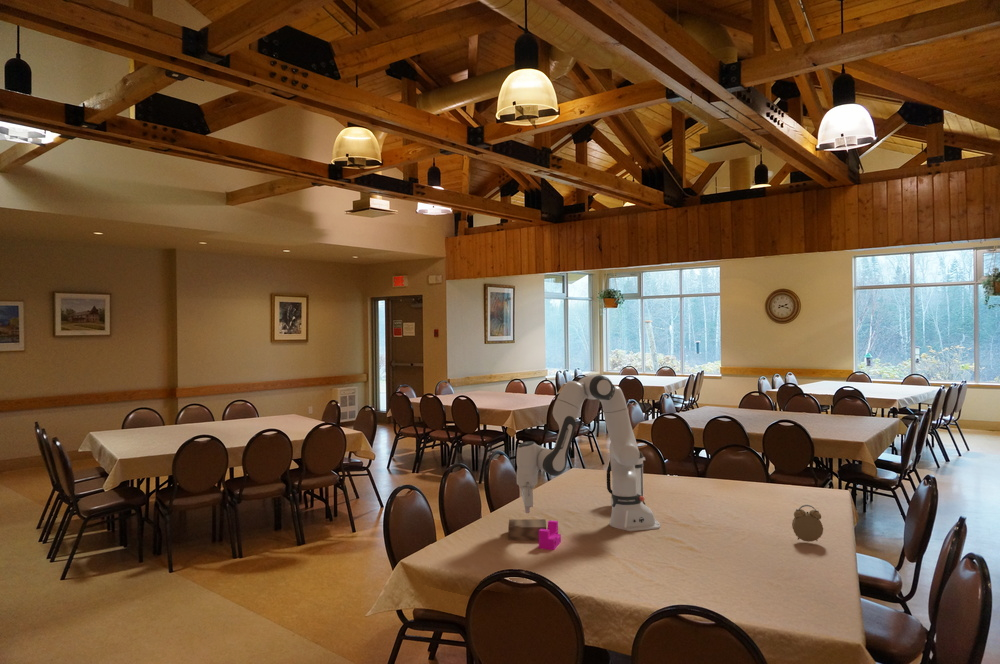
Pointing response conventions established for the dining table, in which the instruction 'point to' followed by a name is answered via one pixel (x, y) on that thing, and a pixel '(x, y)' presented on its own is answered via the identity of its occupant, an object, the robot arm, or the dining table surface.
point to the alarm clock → (807, 524)
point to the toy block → (549, 536)
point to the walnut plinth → (525, 529)
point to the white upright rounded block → (638, 473)
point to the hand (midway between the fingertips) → (527, 512)
